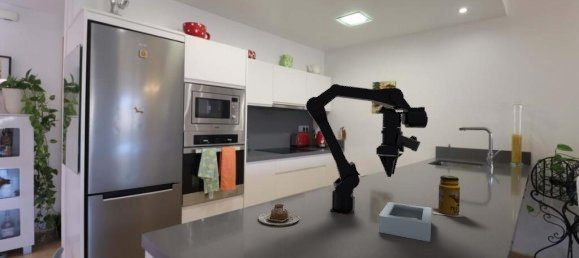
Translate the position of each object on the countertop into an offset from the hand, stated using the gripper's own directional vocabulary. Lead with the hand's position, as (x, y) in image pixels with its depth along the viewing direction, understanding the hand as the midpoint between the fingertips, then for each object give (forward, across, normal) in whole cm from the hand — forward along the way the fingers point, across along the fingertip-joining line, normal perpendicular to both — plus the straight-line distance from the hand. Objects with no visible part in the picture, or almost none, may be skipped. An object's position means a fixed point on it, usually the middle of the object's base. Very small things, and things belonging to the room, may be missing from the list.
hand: (390, 175), depth 90 cm
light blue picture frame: (+12, -12, -6) cm, 18 cm away
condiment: (+12, +10, -16) cm, 23 cm away
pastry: (+13, -25, +27) cm, 39 cm away
